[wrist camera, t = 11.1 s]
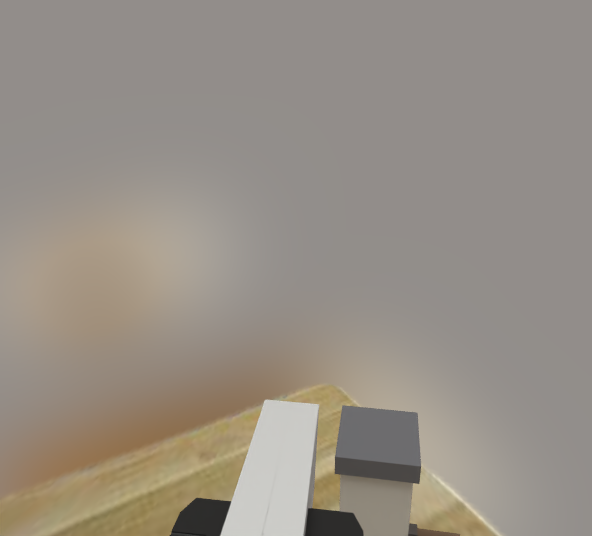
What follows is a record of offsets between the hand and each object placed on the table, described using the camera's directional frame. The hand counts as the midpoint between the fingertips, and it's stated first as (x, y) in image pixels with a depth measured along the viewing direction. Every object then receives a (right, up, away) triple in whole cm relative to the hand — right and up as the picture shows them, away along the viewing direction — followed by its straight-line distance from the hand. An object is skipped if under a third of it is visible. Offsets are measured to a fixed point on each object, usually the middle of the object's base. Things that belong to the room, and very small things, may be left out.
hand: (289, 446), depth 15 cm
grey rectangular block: (+5, -19, +21) cm, 29 cm away
